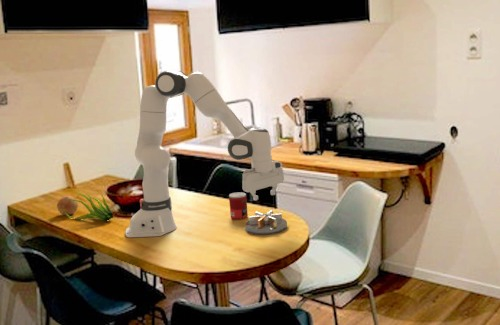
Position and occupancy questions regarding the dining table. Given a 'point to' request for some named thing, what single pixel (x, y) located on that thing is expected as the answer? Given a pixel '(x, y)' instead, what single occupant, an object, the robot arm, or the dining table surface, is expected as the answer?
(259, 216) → the finned rotor disc
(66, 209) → the onion
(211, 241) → the dining table surface
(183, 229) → the dining table surface
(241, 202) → the canned food
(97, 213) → the decorative plant
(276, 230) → the disc
